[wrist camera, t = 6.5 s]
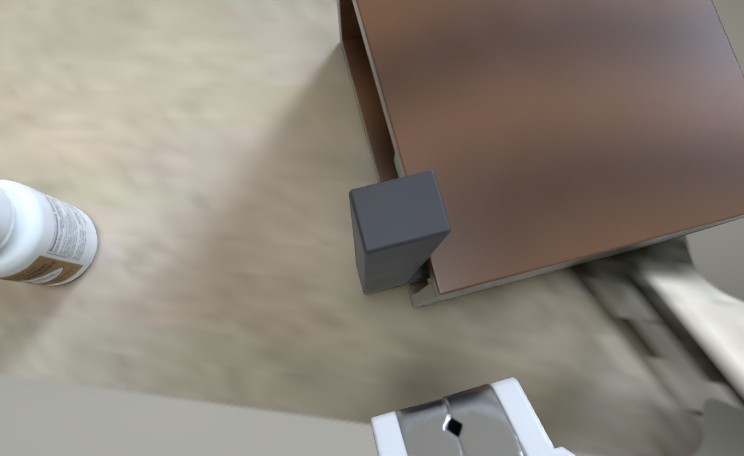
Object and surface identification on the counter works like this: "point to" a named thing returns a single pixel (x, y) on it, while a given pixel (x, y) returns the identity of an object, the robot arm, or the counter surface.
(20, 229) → the pill bottle
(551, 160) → the cupboard
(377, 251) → the sliding door
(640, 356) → the counter surface
